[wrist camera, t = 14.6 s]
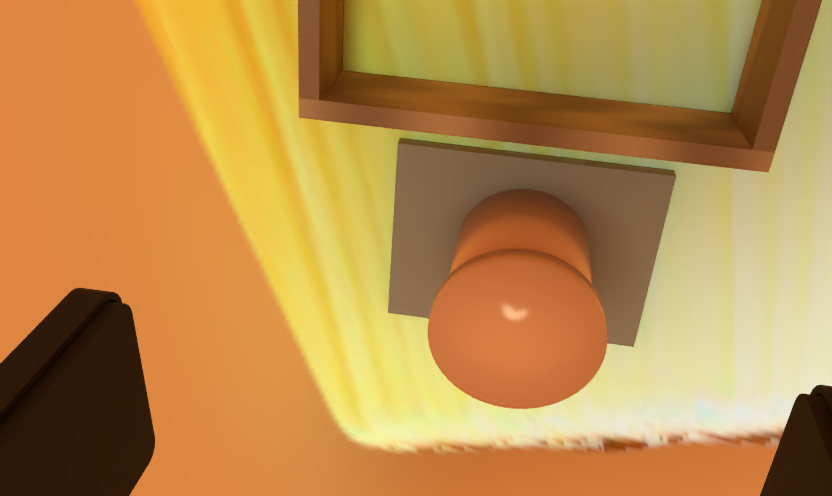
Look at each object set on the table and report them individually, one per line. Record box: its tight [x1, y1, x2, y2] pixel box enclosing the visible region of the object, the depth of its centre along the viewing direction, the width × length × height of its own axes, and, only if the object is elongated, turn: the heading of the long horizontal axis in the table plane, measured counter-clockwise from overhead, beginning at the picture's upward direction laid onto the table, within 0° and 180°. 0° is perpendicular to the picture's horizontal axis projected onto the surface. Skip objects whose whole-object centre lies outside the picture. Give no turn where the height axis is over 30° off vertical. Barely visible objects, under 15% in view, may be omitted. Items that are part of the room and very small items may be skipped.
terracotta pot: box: [428, 189, 607, 409], centre depth 34 cm, size 7×7×7 cm
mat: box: [388, 138, 676, 347], centre depth 37 cm, size 12×9×1 cm
